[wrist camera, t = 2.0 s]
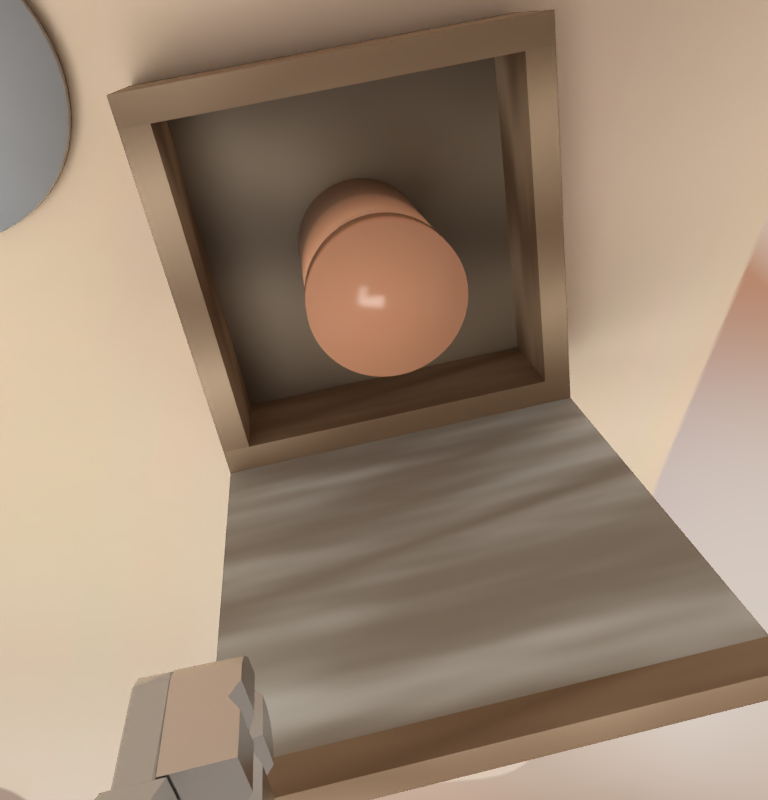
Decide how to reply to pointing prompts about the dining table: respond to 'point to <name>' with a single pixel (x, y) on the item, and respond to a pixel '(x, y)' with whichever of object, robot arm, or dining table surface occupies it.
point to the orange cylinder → (378, 280)
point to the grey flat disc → (29, 113)
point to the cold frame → (419, 430)
